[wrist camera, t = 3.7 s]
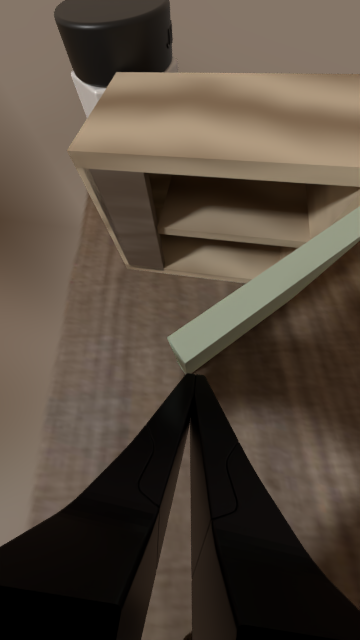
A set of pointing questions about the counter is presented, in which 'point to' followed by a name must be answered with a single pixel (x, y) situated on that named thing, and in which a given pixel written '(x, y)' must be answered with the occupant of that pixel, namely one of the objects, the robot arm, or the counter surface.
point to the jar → (114, 41)
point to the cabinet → (220, 167)
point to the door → (262, 295)
